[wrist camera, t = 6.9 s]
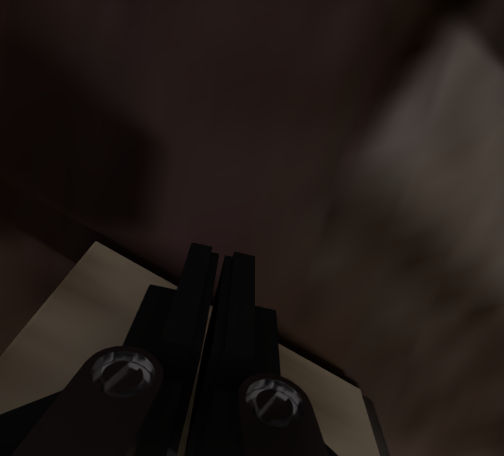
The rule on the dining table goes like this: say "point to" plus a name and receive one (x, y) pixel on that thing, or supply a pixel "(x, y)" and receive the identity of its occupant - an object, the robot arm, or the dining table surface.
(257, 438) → the robot arm
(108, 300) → the gate
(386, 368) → the dining table surface
